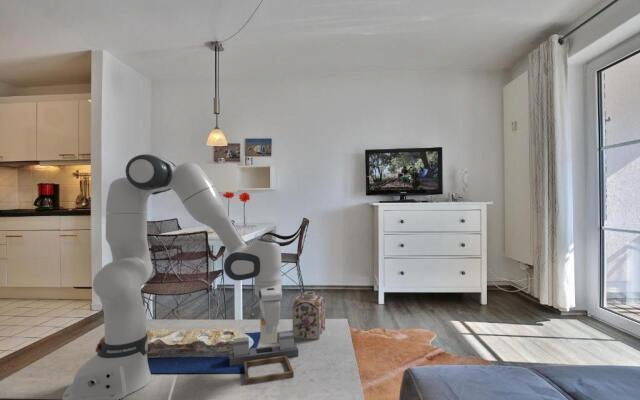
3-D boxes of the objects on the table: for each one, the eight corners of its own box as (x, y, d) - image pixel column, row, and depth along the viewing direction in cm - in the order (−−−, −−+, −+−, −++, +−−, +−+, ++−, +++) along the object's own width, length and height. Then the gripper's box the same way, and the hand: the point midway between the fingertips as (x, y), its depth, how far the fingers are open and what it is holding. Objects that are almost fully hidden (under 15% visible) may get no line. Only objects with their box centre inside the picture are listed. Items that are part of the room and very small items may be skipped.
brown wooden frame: (246, 387, 97) (246, 379, 97) (243, 369, 108) (243, 361, 108) (293, 380, 101) (293, 372, 101) (286, 362, 112) (286, 355, 112)
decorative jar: (325, 331, 140) (325, 290, 141) (319, 342, 129) (319, 297, 129) (299, 328, 143) (299, 288, 143) (291, 339, 132) (291, 295, 132)
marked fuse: (261, 344, 103) (261, 321, 103) (260, 340, 105) (260, 318, 106) (277, 342, 104) (276, 320, 104) (275, 338, 107) (275, 317, 107)
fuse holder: (230, 369, 108) (230, 358, 108) (229, 361, 113) (229, 351, 113) (298, 359, 115) (298, 349, 115) (294, 352, 120) (294, 342, 120)
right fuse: (280, 357, 114) (280, 336, 114) (278, 353, 117) (278, 333, 117) (294, 355, 116) (293, 335, 116) (292, 351, 119) (292, 332, 119)
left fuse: (233, 363, 110) (233, 342, 110) (233, 359, 112) (233, 339, 113) (248, 361, 111) (248, 340, 111) (248, 357, 114) (248, 337, 114)
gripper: (255, 281, 114) (255, 320, 114) (262, 297, 94) (262, 344, 94) (273, 280, 116) (273, 318, 116) (283, 295, 96) (283, 341, 96)
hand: (268, 330), depth 105 cm, fingers closed on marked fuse, 3 cm apart
